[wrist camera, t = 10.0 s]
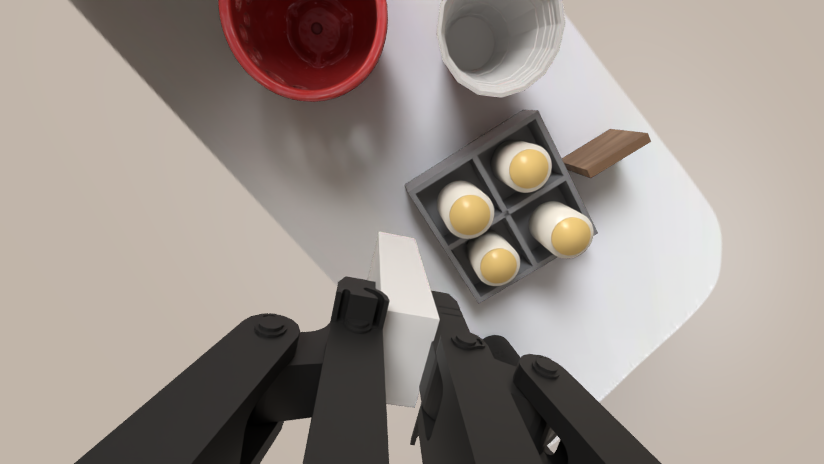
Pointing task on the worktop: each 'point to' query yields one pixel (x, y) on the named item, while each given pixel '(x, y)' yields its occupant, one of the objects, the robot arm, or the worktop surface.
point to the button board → (497, 197)
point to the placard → (604, 151)
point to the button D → (561, 229)
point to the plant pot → (306, 43)
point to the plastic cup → (499, 42)
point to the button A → (465, 209)
